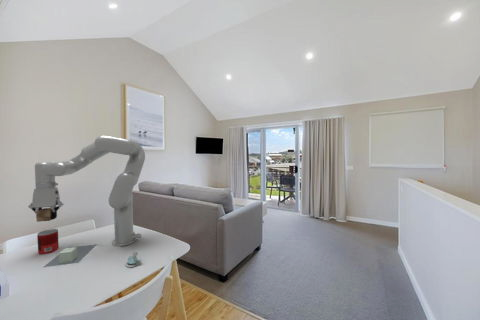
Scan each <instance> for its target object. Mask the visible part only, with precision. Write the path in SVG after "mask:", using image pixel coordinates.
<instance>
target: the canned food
mask: <svg viewBox="0 0 480 320" xmlns="http://www.w3.org/2000/svg"><path fill="white" fill-rule="evenodd" d="M36 237H37V253H38V255H47V254H48V255H49V254H51V253H54V252H56V251H58V250H59V247H60V245H59V229H58V228H50V229H46V230H45V229H44V230H41V231H39V232H38V233H37V236H36Z"/></svg>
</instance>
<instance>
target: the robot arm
mask: <svg viewBox="0 0 480 320" xmlns="http://www.w3.org/2000/svg"><path fill="white" fill-rule="evenodd" d="M109 153H113V154H118V155H125V156H129V157H128V160H127V163H125V167H124V170H123V172H121V173H120V174H119V175H118V176H117V177H116V179H115V181H114V184H113V186H112V189H111V191H110V194H109V196H108V205H109V206H110V207H111V208H112V209H113V224H114V239H113V240H112V241H111V245H112V247H126V246H128V245H132V244H134V243H135V242H136V241H137V239H141V238H142V234H141V233H136V231H134V210H133V208H134V194H133V190H134V187H135V186H136V185H137V184H138V181H139V178H140V175H141V172H142V169H143V167H144V163H145V160H146V152H145V150H144V148H143V146H142V145H140V143H138V141H137V142H136V141H134V140H132V139H131V140H130V139H126V138H119V137H114V136H111V135H110V136H109V135H106V134H104V135H99V136H97V137H96V139H94V142H92V143H90V144H88V145H87V146H85V147H83V148H82V149H81V152H80V153H79V154H78V155H76V156H75V157H72V158H71V159H69V160H66V161H65V160H64V161H56V162H51V161H48V162H45V161H44V162H43V161H42V162H36V163H35V164H34V180H35V188H34V189H33V192H32V202H31V203H29V205H28V206H27V207H28V208H29V209H31V211H33V212H34V213H35V214H36V211H38V210H41V209H43V208H51V210H52V212H51V220H50V221H53V220H55V219H57V217H58V214H57V213H58V210H60V209H61V208H62V207H63V206H64V205H65V203H64V202H62V201H61V196H60V191H59V189H58V187H57V186H58V185H59V183H58V182H56V177H62V176H68V175H72V174H74V173H76V172H78V171H81V170H82V169H84V168H86V167H87V166H89V165H90V164H92V163H93V162H95V161H97V160H98V159H100V158H102V157H104V156H105V155H108V154H109ZM35 218H36V219H37V216H36V215H35Z"/></svg>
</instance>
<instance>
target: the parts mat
mask: <svg viewBox="0 0 480 320" xmlns="http://www.w3.org/2000/svg"><path fill="white" fill-rule="evenodd" d="M97 245H98V243H97V244H87V245H85V244H84V245H76V246H75V247H77V258H76V259H74V260H73V261H72V262H69V263H61V264H59V254H58V255H57V256H55V257H54V258H52V260H50V261H49V262H48V263H46V264H45V265H43V268H48V267H58V266H63V265H71V264H72V265H73V264H78V263H80V262H81V261H82V260H83V259H84V258H85V257H86V256H87V255H88V254H89V253H90V252H91V251H92V250H93V249H94V248H95V247H96V246H97ZM73 247H74V246H68V247H67V248H73Z"/></svg>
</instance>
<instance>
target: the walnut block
mask: <svg viewBox="0 0 480 320" xmlns="http://www.w3.org/2000/svg"><path fill="white" fill-rule="evenodd" d="M51 212H52V210H51V208H50V207H42V209H41V210H38V211H36V213H35V217H36V216H37V218H36V222H51V221H52V220H51Z"/></svg>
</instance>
